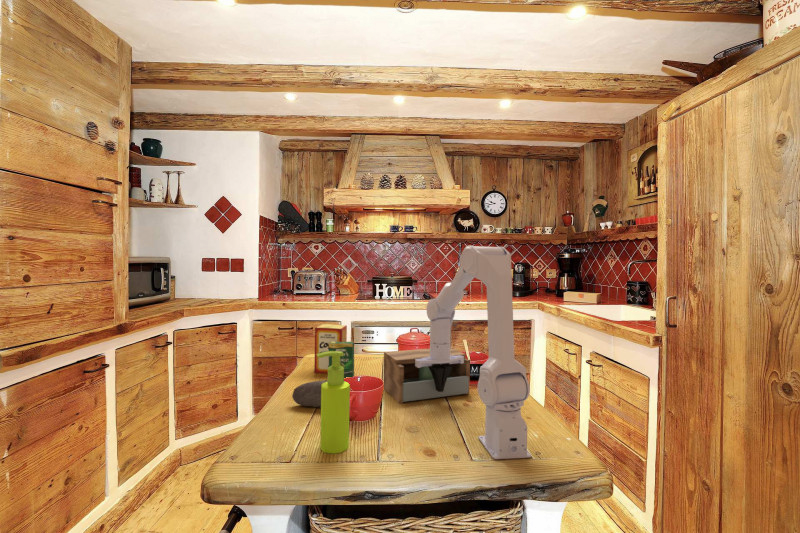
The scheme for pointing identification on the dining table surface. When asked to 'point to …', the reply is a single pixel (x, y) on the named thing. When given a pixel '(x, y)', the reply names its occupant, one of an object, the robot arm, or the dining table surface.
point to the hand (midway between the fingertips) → (439, 390)
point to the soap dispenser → (334, 407)
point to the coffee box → (348, 357)
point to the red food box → (327, 343)
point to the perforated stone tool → (308, 394)
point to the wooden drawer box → (413, 369)
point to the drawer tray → (433, 388)
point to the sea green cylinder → (425, 374)
